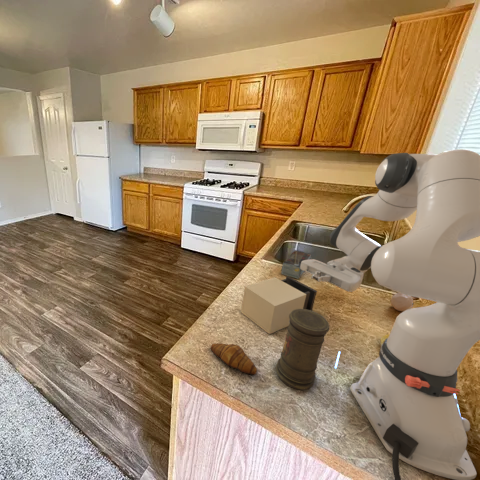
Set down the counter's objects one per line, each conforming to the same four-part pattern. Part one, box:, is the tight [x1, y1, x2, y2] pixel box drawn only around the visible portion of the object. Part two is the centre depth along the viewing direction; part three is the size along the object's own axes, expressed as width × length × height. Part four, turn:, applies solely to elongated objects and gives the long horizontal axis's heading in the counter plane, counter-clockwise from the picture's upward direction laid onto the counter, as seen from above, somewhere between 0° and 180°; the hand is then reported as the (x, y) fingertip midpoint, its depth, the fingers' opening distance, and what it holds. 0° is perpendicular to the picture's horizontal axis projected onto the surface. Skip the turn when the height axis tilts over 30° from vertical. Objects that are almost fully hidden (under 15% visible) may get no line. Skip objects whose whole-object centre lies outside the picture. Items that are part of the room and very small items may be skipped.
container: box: [275, 309, 330, 391], centre depth 66 cm, size 9×9×18 cm
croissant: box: [210, 342, 258, 376], centre depth 72 cm, size 14×7×5 cm, turn 48°
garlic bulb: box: [390, 292, 415, 312], centre depth 95 cm, size 7×6×8 cm
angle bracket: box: [280, 276, 318, 311], centre depth 94 cm, size 17×11×9 cm, turn 117°
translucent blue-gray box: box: [281, 249, 312, 280], centre depth 124 cm, size 8×19×7 cm, turn 139°
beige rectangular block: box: [240, 276, 307, 335], centre depth 90 cm, size 15×13×11 cm
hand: (315, 278), depth 97 cm, fingers closed
